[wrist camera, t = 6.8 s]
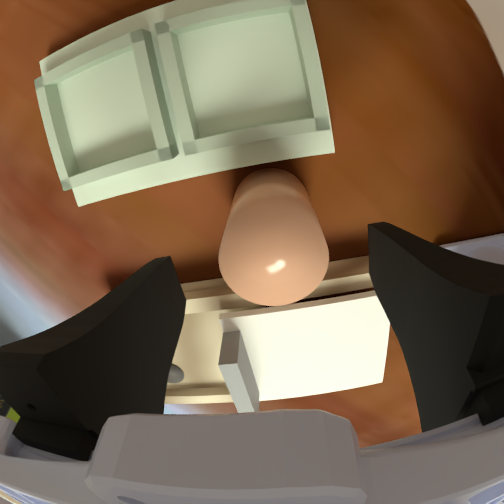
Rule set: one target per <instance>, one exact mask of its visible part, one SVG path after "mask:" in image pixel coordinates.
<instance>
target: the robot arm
mask: <svg viewBox="0 0 504 504" xmlns="http://www.w3.org/2000/svg"><path fill="white" fill-rule="evenodd" d="M368 243H369V275H370V278H371V281H372V284H373V287H374V290H375V293H376V295H377V297H378V299H379V301H380V303H381V305H382V307H383V309H384V312H385V314H386V316H387V318H388V320H389V322H390V324H391V326H392V328H393V330H394V332H395V334H396V336H397V338H398V340H399V343H400V345H401V348H402V351H403V354H404V357H405V360H406V363H407V367H408V370H409V374H410V377H411V381H412V385H413V389H414V393H415V397H416V402H417V407H418V411H419V416H420V422H421V428H422V433H420V434H416V435H413V436H409V437H406V438H402V439H398V440H394V441H390V442H386V443H382V444H378V445H374V446H369V447H364V448H359V444H358V438H357V434H356V432H355V430H354V428H353V426H352V424H351V422H350V420H348V419H346V418H343V417H340V416H337V415H334V414H331V413H328V412H325V411H322V410H319V409H279V410H269V411H258V412H245V413H227V414H193V415H176V414H163V413H164V403H165V395H166V388H167V381H168V376H169V372H170V368H171V364H172V361H173V357H174V354H175V351H176V347H177V344H178V340H179V337H180V333H181V330H182V326H183V323H184V316H185V309H186V301H187V300H186V298H185V295H184V292H183V290H182V287H181V284H180V282H179V279H178V276H177V273H176V271H175V268H174V265H173V262H172V259H171V256H167V257H161V258H156V259H154V260H152V261H150V262H149V263H147V264H146V265H144V266H143V267H142V268H140V269H139V270H138V271H136V272H135V273H134V274H133V275H131V276H130V277H129V278H128V279H126V280H125V281H124V282H122V283H121V284H120V285H119V286H117V287H116V288H115V289H113V290H112V291H111V292H109V293H108V294H107V295H105V296H104V297H103V298H101V299H100V300H98V301H97V302H96V303H94V304H93V305H91V306H90V307H88V308H86V309H85V310H83V311H82V312H80V313H78V314H77V315H75V316H73V317H71V318H69V319H67V320H65V321H64V322H62V323H60V324H58V325H56V326H54V327H52V328H50V329H47V330H45V331H43V332H41V333H38V334H36V335H33V336H31V337H28V338H25V339H22V340H19V341H16V342H13V343H10V344H6V345H3V346H2V347H0V395H1V396H2V398H3V399H4V400H5V401H6V402H7V403H8V404H9V405H10V406H11V407H12V409H13V410H14V411H15V412H16V413H17V414H18V415H19V416H20V418H19V420H18V422H17V423H16V422H14V421H13V420H11V419H9V418H6V417H3V416H0V490H1V491H2V492H4V493H5V494H7V495H8V496H10V497H11V498H13V499H14V500H16V501H18V502H20V503H22V504H504V233H502V234H497V235H492V236H487V237H482V238H476V239H471V240H466V241H460V242H455V243H450V244H444V245H440V246H438V245H435V244H433V243H431V242H428V241H426V240H424V239H422V238H420V237H418V236H415V235H413V234H411V233H409V232H407V231H405V230H403V229H401V228H399V227H396V226H394V225H392V224H389V223H386V222H379V223H373V224H368Z"/></svg>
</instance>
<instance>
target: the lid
mask: <svg viewBox="0 0 504 504" xmlns="http://www.w3.org/2000/svg"><path fill="white" fill-rule="evenodd" d="M219 322H220V325H221V328H222V331H223V336H222V343H221V349H220V356H219V362H218V366H219V368H220V371H221V373H222V376H223V378H224V381H225V383H226V385H227V388H228V390H229V392H230V395H231V397H232V399H233V402H234V404H235V406H236V409H237V411H238V413H245V412H258V411H259V401H264V400H275V399H284V398H293V397H301V396H308V395H315V394H322V393H328V392H334V391H340V390H346V389H352V388H357V387H362V386H367V385H372V384H377V383H381V382H382V381H383V375H384V368H385V361H386V353H387V345H388V336H389V327H390V322H389V320H388V318H387V316H386V314H385V312H384V309H383V307H382V305H381V303H380V301H379V299H378V297H377V295H376V293H375V290H374V291H368V292H363V293H357V294H351V295H345V296H340V297H334V298H327V299H321V300H315V301H308V302H302V303H295V304H288V305H282V306H274V307H267V308H260V309H252V310H244V311H237V312H228V313H220V315H219Z"/></svg>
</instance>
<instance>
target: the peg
mask: <svg viewBox="0 0 504 504" xmlns="http://www.w3.org/2000/svg"><path fill="white" fill-rule="evenodd" d="M218 258H219V267H220V271H221V274H222V276H223V278H224V280H225V282H226V283H227V285H228V286H229V287H230V288H231V289H232V290H233V291H234V292H235V293H236V294H237V295H239V296H240V297H242V298H243V299H245V300H248V301H250V302H253V303H255V304H260V305H265V306H281V305H287V304H291V303H294V302H296V301H299V300H301V299H303V298H304V297H306V296H308V295H309V294H310V293H312V292H313V291H314V290H315V289H316V288H317V287H318V285H319V284H320V283H321V281H322V280H323V278H324V276H325V274H326V272H327V268H328V263H329V251H328V246H327V243H326V240H325V238H324V235H323V232H322V230H321V227H320V224H319V222H318V219H317V216H316V214H315V211H314V209H313V206H312V203H311V201H310V198H309V196H308V193H307V191H306V189H305V187H304V185H303V184H302V182H301V181H300V180H299V179H298V178H297V177H296V176H294V175H293V174H291V173H290V172H288V171H285V170H282V169H278V168H264V169H260V170H257V171H255V172H253V173H251V174H249V175H248V176H246V177H245V178H244V179H243V180H242V181H241V183H240V184H239V186H238V187H237V189H236V192H235V195H234V198H233V202H232V205H231V209H230V213H229V216H228V220H227V223H226V227H225V231H224V234H223V238H222V242H221V246H220V250H219V257H218Z"/></svg>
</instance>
